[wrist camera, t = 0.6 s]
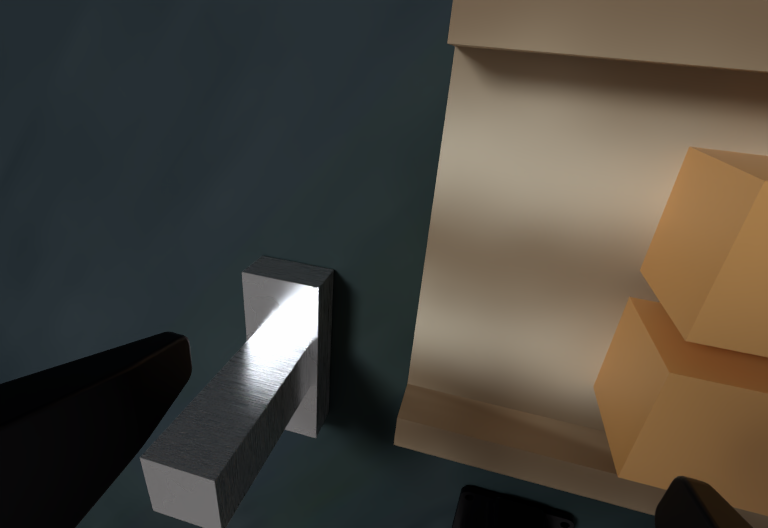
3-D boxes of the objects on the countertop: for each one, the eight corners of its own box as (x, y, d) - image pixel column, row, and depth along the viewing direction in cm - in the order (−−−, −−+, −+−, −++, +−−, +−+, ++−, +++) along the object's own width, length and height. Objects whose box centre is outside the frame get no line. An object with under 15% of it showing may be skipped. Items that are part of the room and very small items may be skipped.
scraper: (328, 413, 26) (240, 589, 17) (269, 397, 27) (156, 558, 18) (333, 269, 22) (218, 409, 13) (262, 255, 22) (107, 379, 14)
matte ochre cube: (710, 413, 15) (770, 516, 12) (593, 386, 16) (617, 477, 13) (763, 321, 14) (853, 411, 10) (629, 296, 14) (670, 373, 11)
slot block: (712, 422, 20) (787, 551, 15) (419, 355, 22) (393, 444, 17) (942, 35, 13) (1250, 17, 7) (473, 3, 15) (456, -28, 10)
